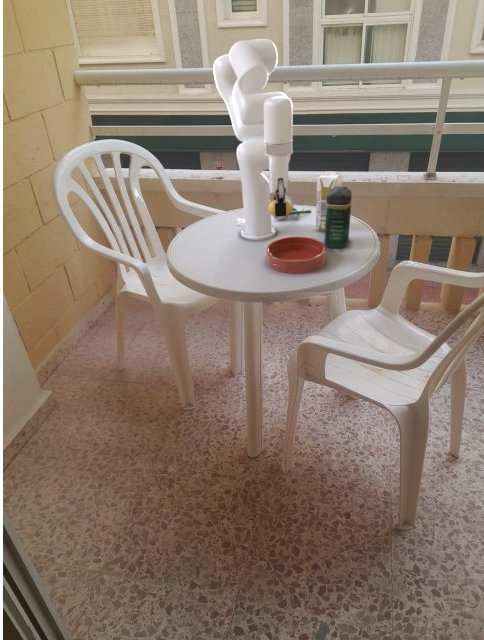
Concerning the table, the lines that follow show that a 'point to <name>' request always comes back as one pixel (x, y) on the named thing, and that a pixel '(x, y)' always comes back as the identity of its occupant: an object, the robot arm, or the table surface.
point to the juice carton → (323, 186)
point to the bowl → (296, 255)
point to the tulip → (288, 209)
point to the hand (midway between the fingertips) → (280, 212)
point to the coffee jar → (337, 217)
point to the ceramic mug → (291, 210)
